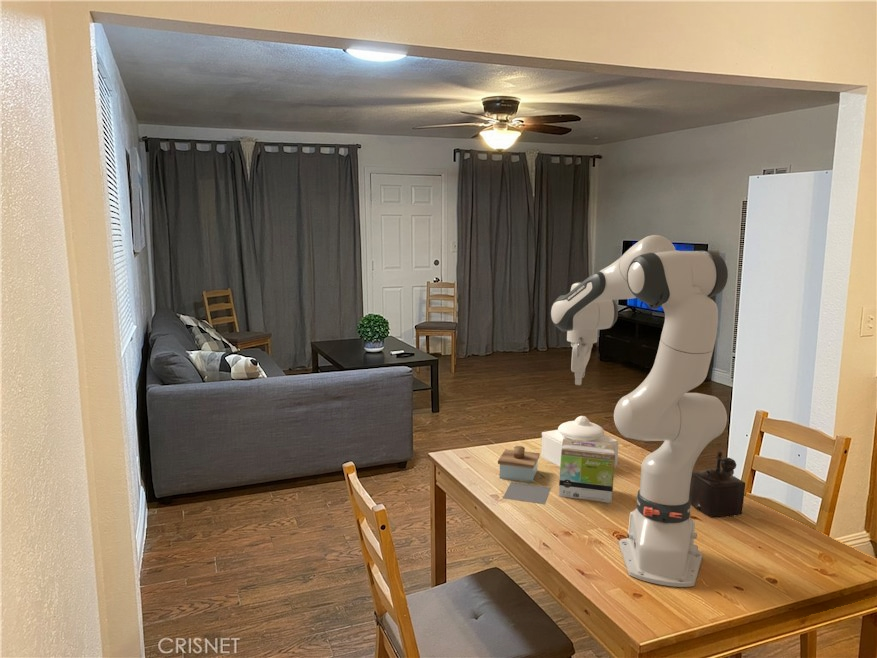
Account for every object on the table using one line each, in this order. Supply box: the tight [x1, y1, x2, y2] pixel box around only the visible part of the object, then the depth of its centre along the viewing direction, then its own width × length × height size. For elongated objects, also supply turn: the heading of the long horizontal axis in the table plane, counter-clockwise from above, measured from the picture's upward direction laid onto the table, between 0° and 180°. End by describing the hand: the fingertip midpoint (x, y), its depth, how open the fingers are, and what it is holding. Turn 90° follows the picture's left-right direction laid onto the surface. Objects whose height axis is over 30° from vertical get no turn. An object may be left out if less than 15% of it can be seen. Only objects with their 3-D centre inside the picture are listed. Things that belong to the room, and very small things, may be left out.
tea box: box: [558, 439, 615, 504], centre depth 182 cm, size 15×10×15 cm, turn 76°
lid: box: [497, 445, 541, 469], centre depth 195 cm, size 11×11×4 cm
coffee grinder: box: [689, 451, 746, 518], centre depth 171 cm, size 16×11×18 cm
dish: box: [499, 460, 539, 483], centre depth 196 cm, size 10×10×5 cm
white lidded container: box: [540, 415, 619, 468], centre depth 207 cm, size 18×18×16 cm
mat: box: [502, 481, 552, 505], centre depth 182 cm, size 12×12×1 cm
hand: (579, 380), depth 189 cm, fingers open, 8 cm apart
